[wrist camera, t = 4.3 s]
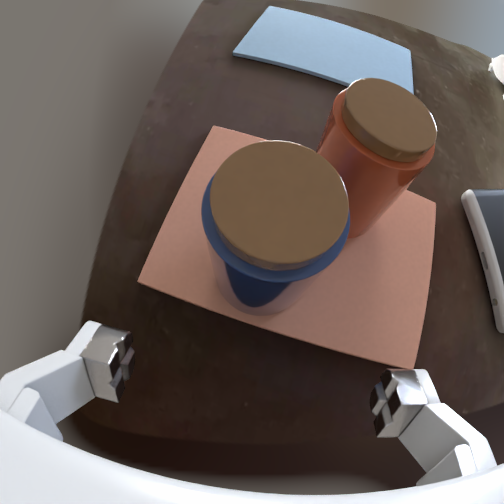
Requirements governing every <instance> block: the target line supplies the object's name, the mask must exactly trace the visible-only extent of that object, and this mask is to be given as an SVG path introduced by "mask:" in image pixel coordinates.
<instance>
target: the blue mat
mask: <svg viewBox="0 0 504 504" xmlns="http://www.w3.org/2000/svg"><path fill="white" fill-rule="evenodd" d="M233 56H238V57H243V58H248V59H252V60H257V61H261V62H266V63H270V64H274V65H278V66H282V67H286V68H290V69H293V70H297V71H300V72H304V73H307V74H311V75H314V76H317V77H321V78H324V79H327V80H330V81H333V82H336V83H339V84H342V85H345V86H347V87H349V86H350V85H351V84H352V83H353V82H355V81H356V80H359V79H363V78H379V79H383V80H387V81H390V82H393V83H395V84H397V85H399V86H401V87H403V88H405V89H406V90H408V91H409V92H411V93H412V94H413V78H412V65H411V54H410V50H408V49H406V48H404V47H402V46H399V45H397V44H395V43H392V42H390V41H387V40H385V39H382V38H380V37H377V36H375V35H372V34H369V33H367V32H364V31H361V30H358V29H355V28H352V27H349V26H346V25H343V24H340V23H337V22H334V21H330V20H327V19H323V18H320V17H316V16H312V15H308V14H305V13H300V12H296V11H292V10H287V9H283V8H278V7H273V6H269V7H268V8H267V10H266V11H265V12H264V13H263V14H262V16H261V17H260V18H259V19H258V20H257V22H256V23H255V24H254V25H253V27H252V28H251V29H250V30H249V32H248V33H247V34H246V35H245V37H244V38H243V39H242V41H241V42H240V43H239V44H238V46H237V47H236V48H235V50H234V51H233Z"/></svg>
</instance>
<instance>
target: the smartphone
mask: <svg viewBox="0 0 504 504" xmlns="http://www.w3.org/2000/svg"><path fill="white" fill-rule="evenodd" d="M461 201H462V204H463V207H464V210H465V213H466V215H467V218H468V221H469V224H470V227H471V230H472V233H473V236H474V239H475V242H476V245H477V248H478V252H479V255H480V258H481V262H482V266H483V269H484V273H485V277H486V281H487V285H488V289H489V293H490V298H491V302H492V307H493V312H494V317H495V323H496V327H497V330H498V331H499V332H500V333H504V189H470V190H467V191H466V192H464V193H463V194H462V197H461Z"/></svg>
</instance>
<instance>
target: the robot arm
mask: <svg viewBox="0 0 504 504" xmlns="http://www.w3.org/2000/svg"><path fill="white" fill-rule="evenodd" d="M132 343H133V336H132V333H131V332H129V331H125V330H122V329H118V328H115V327H111V326H108V325H104V324H100V323H97V322H93V321H88V322H86V323H85V324H84V326H83V327H82V328H81V330H80V331H79V332H78V334H77V335H76V336H75V338H74V339H73V341H72V342H71V343H70V345H69V346H68V347H67V349H66V350H65V351H62V350H60V351H58V352H56V353H53V354H51V355H49V356H46V357H44V358H41V359H39V360H37V361H34V362H32V363H30V364H27V365H25V366H23V367H20V368H18V369H16V370H14V371H11V372H9V373H6V374H5V375H4V376H3V378H2V379H1V380H0V504H504V464H501V465H498V466H497V464H496V462H495V459H494V456H493V454H492V451H491V449H490V446H489V444H488V442H487V439H486V438H485V437H484V436H483V435H481V434H480V433H479V432H478V431H477V430H475V429H474V428H473V427H472V426H471V425H470V424H468V423H467V422H466V421H465V420H463V419H462V418H461V417H460V416H459V415H458V414H456V413H455V412H454V411H453V410H452V409H450V408H449V407H448V406H447V405H446V404H444V403H440V400H439V398H438V395H437V393H436V391H435V388H434V386H433V384H432V381H431V379H430V377H429V374H428V372H427V371H426V370H425V369H412V370H411V369H386V370H384V371H383V373H382V374H381V376H380V378H381V382H380V383H378V384H377V385H375V387H374V389H373V390H372V392H371V397H370V408H371V412H372V413H373V414H374V415H375V416H376V419H375V420H374V426H375V431H376V435H377V437H399V439H400V441H401V442H402V443H403V444H404V446H405V447H406V448H407V449H408V450H409V452H410V453H411V454H412V455H413V457H414V458H415V459H416V460H417V462H418V463H419V464H420V465H421V466H422V468H423V469H424V470H425V471H426V472H427V474H425V475H424V476H423V477H422V478H421V479H420V480H418V482H417V483H416V487H410V488H404V489H396V490H389V491H381V492H370V493H360V494H359V493H358V494H342V495H288V494H271V493H258V492H249V491H240V490H231V489H225V488H218V487H212V486H206V485H201V484H196V483H190V482H185V481H181V480H176V479H172V478H168V477H164V476H160V475H156V474H152V473H149V472H145V471H141V470H138V469H135V468H131V467H128V466H125V465H122V464H119V463H116V462H113V461H110V460H107V459H104V458H101V457H99V456H96V455H93V454H91V453H88V452H86V451H83V450H80V449H78V448H76V447H73V446H71V445H69V444H66V443H64V442H62V441H63V437H62V434H61V433H60V431H59V429H58V428H57V426H56V423H57V422H59V421H61V420H62V419H63V418H65V417H67V416H68V415H70V414H71V413H73V412H74V411H76V410H77V409H79V408H80V407H81V406H83V405H84V404H86V403H87V402H89V401H90V400H92V399H93V398H95V396H96V397H99V398H103V399H106V400H109V401H113V402H116V403H118V402H119V400H120V398H121V396H122V394H123V392H124V390H125V384H124V381H126V380H128V379H129V378H130V377H131V375H132V373H133V369H134V365H135V351H134V350H133V349H132V348H131V345H132Z"/></svg>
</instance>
